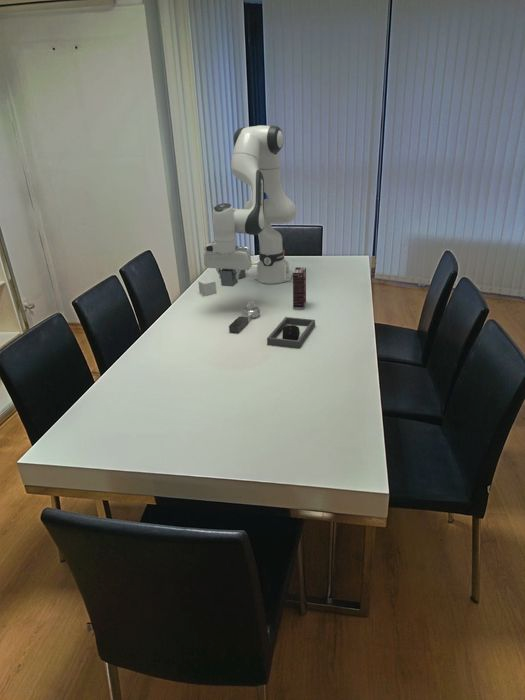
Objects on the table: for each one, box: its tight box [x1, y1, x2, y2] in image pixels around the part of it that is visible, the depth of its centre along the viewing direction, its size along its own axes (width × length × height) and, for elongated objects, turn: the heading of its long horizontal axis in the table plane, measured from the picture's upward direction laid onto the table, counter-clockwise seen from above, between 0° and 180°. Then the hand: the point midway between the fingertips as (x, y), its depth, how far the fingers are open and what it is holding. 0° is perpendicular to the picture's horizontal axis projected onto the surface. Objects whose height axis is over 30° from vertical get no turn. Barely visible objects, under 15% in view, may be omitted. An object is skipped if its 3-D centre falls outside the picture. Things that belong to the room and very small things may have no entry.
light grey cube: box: [198, 278, 218, 297], centre depth 228 cm, size 6×6×6 cm
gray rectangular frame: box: [266, 316, 316, 349], centre depth 181 cm, size 21×12×2 cm, turn 159°
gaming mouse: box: [281, 324, 301, 340], centre depth 179 cm, size 6×15×4 cm, turn 173°
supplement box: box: [292, 266, 307, 310], centre depth 205 cm, size 9×5×16 cm, turn 168°
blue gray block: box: [220, 269, 239, 288], centre depth 202 cm, size 5×5×6 cm
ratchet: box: [228, 300, 261, 334], centre depth 193 cm, size 22×7×6 cm, turn 159°
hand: (229, 278), depth 202 cm, fingers closed on blue gray block, 5 cm apart
